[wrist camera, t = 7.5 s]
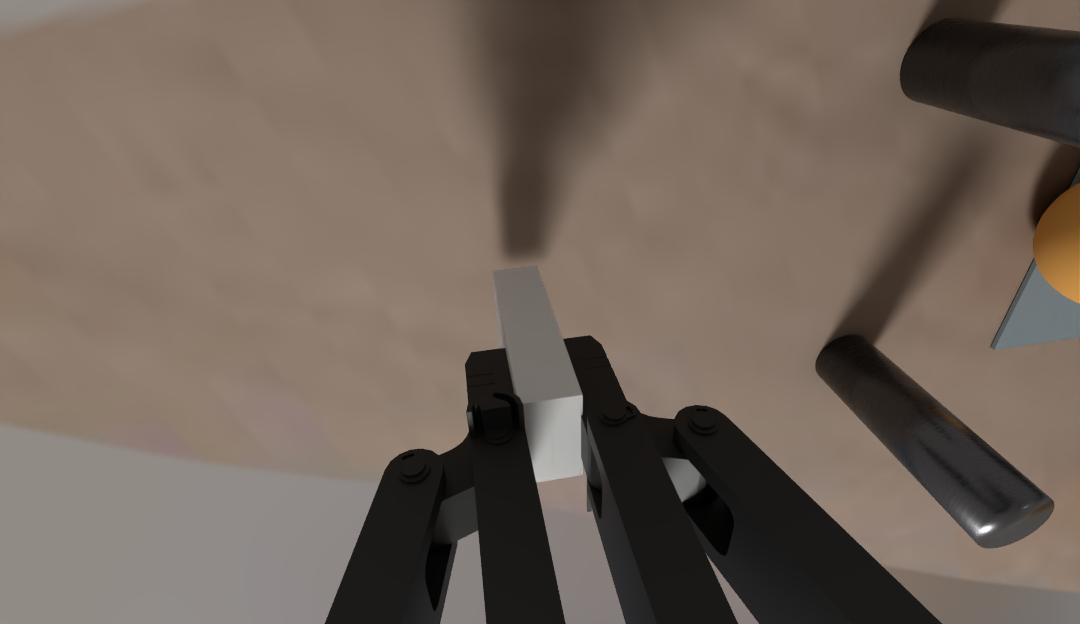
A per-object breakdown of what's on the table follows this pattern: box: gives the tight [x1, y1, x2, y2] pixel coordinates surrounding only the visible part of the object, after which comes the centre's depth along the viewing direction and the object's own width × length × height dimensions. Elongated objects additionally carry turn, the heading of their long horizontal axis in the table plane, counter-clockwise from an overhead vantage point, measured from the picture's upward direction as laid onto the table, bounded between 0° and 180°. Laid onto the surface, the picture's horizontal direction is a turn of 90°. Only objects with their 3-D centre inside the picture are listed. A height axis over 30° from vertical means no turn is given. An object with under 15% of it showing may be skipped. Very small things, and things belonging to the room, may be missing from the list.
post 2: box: [816, 335, 1054, 548], centre depth 22 cm, size 3×3×9 cm
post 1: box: [900, 18, 1080, 148], centre depth 15 cm, size 3×3×9 cm
